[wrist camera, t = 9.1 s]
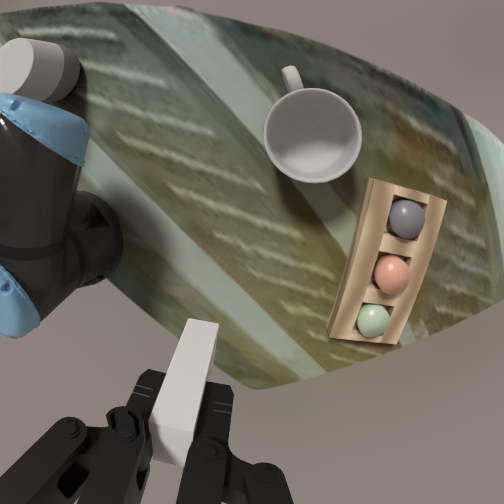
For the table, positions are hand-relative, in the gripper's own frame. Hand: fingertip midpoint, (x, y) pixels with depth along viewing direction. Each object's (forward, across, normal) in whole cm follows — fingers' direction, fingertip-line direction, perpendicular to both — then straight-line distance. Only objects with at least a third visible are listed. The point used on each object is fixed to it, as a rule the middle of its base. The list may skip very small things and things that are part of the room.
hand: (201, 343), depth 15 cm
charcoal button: (+28, +22, +4) cm, 36 cm away
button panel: (+29, +22, -4) cm, 37 cm away
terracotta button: (+27, +22, -4) cm, 35 cm away
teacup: (+29, +6, +13) cm, 33 cm away
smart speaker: (+30, -32, +18) cm, 47 cm away
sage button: (+28, +22, -12) cm, 37 cm away
